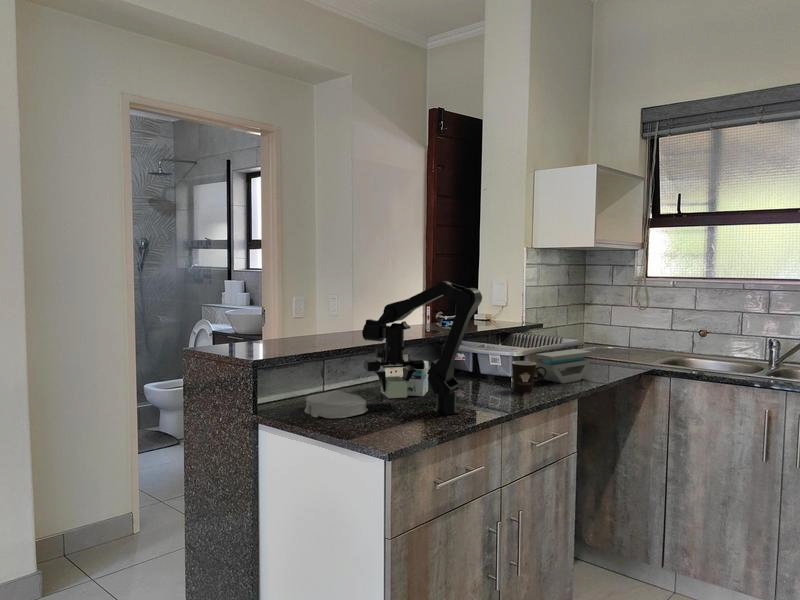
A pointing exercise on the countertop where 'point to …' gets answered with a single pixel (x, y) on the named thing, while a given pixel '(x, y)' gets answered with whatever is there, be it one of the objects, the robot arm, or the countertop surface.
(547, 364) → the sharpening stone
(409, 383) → the light bulb box
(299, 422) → the countertop surface
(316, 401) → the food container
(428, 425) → the countertop surface
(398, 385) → the crate
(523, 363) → the coffee mug
